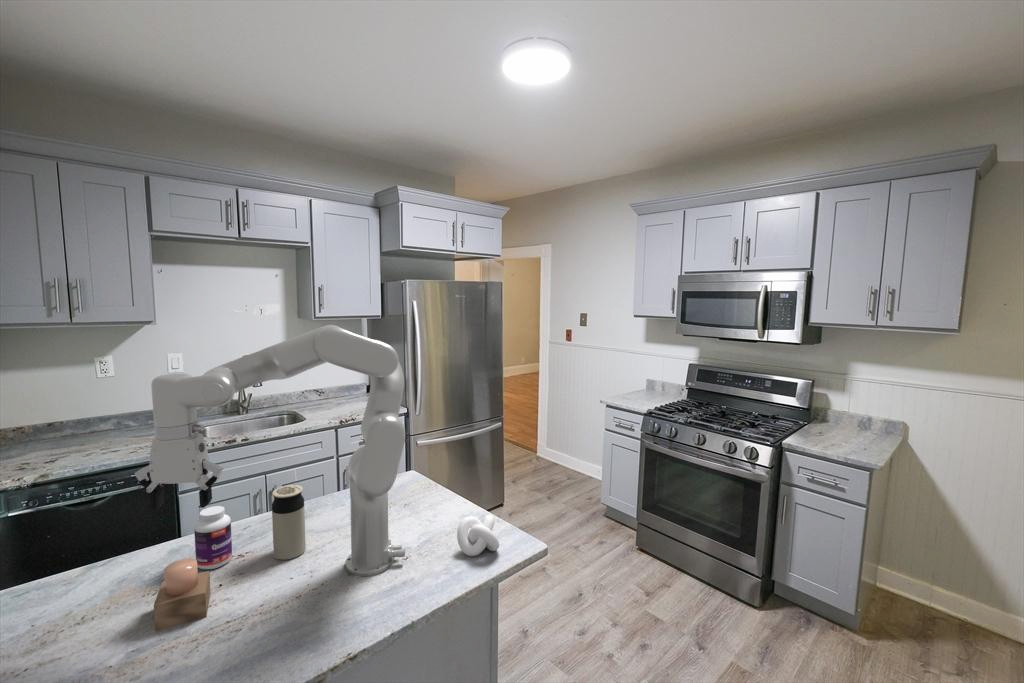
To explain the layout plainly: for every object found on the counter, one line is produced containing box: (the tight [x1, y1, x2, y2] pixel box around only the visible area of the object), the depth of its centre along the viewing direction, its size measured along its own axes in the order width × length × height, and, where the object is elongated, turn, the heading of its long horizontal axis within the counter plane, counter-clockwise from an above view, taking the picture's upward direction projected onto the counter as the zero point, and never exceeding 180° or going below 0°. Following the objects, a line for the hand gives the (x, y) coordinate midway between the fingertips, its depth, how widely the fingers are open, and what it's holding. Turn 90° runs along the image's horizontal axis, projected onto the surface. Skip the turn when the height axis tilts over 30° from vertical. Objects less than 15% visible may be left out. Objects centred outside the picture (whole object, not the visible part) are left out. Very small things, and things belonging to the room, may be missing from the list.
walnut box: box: [153, 570, 211, 632], centre depth 101 cm, size 9×9×6 cm
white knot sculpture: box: [456, 514, 500, 557], centre depth 127 cm, size 11×12×9 cm
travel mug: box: [271, 484, 307, 560], centre depth 124 cm, size 8×8×18 cm
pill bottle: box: [193, 505, 233, 570], centre depth 119 cm, size 8×8×14 cm
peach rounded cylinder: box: [163, 557, 199, 596], centre depth 100 cm, size 6×6×5 cm
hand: (182, 506), depth 99 cm, fingers open, 9 cm apart
